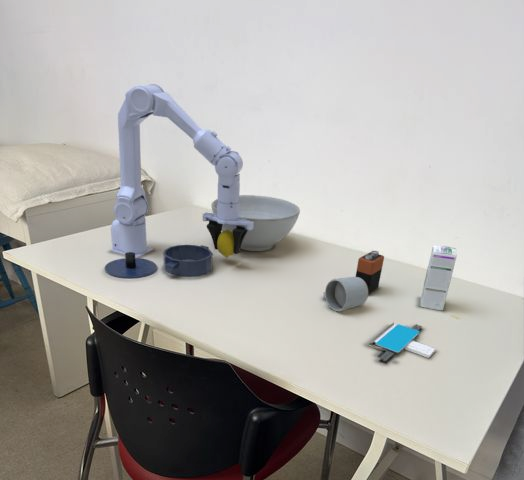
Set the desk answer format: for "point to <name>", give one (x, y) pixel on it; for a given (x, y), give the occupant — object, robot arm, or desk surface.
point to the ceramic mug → (346, 293)
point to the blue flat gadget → (399, 342)
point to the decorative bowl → (264, 220)
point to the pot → (182, 268)
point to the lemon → (226, 243)
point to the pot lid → (130, 267)
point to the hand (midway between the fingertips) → (226, 250)
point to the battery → (370, 269)
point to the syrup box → (438, 277)
